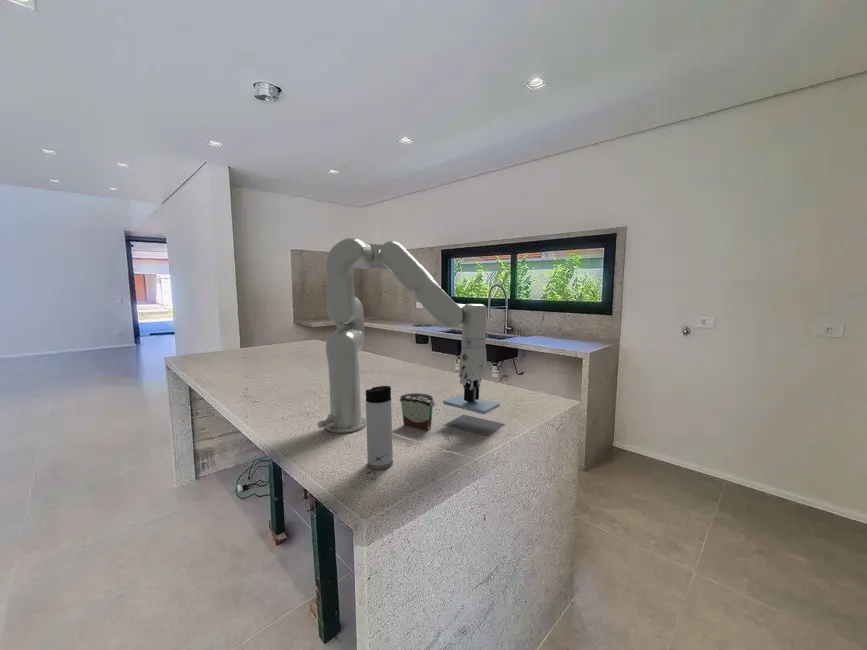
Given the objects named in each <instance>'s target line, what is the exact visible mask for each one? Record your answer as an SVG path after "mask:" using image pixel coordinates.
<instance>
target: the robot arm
mask: <svg viewBox="0 0 867 650" xmlns="http://www.w3.org/2000/svg"><path fill="white" fill-rule="evenodd" d="M354 268H356V269H361V270H377V271H379V270H380V271H381V270H383V271H388V272H389V274H391V275H392V276H393V277H394V278H395V279H397V281H398V282H399V283H400V284H401V285H402V286H403V287H404V288H405V289H406V291H408V292H409V294H410V295H411V296H412V297H414V298H415V300H417V301H418V302H419V303H420V304H421V305H422V306H423V307H424V309H426V310H427V312H428V313H430V315H431V316H432V317H433V318H434V319H435V320H436V321H437V322H438V323H439V324H440V325H441V326H443V327H444V328H447V329H454V328H457V327H458V326H460V325H461V350H460V355H459V356H460V357H459V366H458V367H459V368H458V374H459V376H458V377H459V378H460V379H459V384H460V385H462V386H463V395H464V400H465V401H468V402H473V400H474V390H473V386H475V387H476V400H478V399H480V387H481V381H482V379H484V378H485V377H486V376H487V373H488V357H487V348H486V344H487V343H486V339H487V315H488V313H487V311H488V309H487V306H486V305H485V304H482V303H465V304H463V303H459V302H458V303H457V302H455V301H454V299H452V298H451V296H449V295H448V294H447V293H446V292H445V291H444V290H443V289H442V287H441V286H440V285H439V284H438V283H437V282H436V281H435V279H434V277H433V276H432V274H430V273H429V272H428V271H427V269H426V268H425V267H424V266H423V265H422V264H421V263H420V262H419V261H418V260H417V259H416V258H415V257H414V256H413V255H412V254H411V253H410V252H409V251H408V250H407V249H406V248H405V247H404V246H403V245H402V244H401V243H400V242H398V241H395V240H389V241H386V242H385V243H383V244H378V243H366V242H365V241H362V240H361V239H358V238H355V237H349V238H345V239H342V240H340V241H338V242H337V243H335V245H333V246H332V247H331V249H330V251H329V252H328V254H327V256H326V261H325V279H326V280H325V281H326V307H327V308H326V309H327V310H326V313H327V317H328V318H329V320H330V322H331V323H333V324H334V325H336V330H335V331H333V332H332V333H331V334H330V335H329V336H328V338H327V340H326V343H325V355H326V358H327V366H328V380H329V406H330V414H327V417H326V418H325V420H323V419H322V420H321V421H318V422H317V427H318V428H319V429H321V428H326V430H327V431H328V432H332V433H336V434H345V433H351V432H352V433H353V432H356V431H359V430H361V429H363V428H364V427H366V426H367V424H366V419H365V418H364V417H362V408H361V382H360V381H361V378H360V364H359V359H358V358H359V357H358V353H359V352H360V351H361V350H362V349H363V347H364V345H365V340H366V339H365V338H366V337H365V336H366V334H365V333H366V332H365V317H364V315H365V314H364V306H363V304H362V302H361V301H360V300H359V298H358V297H356V295H355V278H354Z"/></svg>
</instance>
